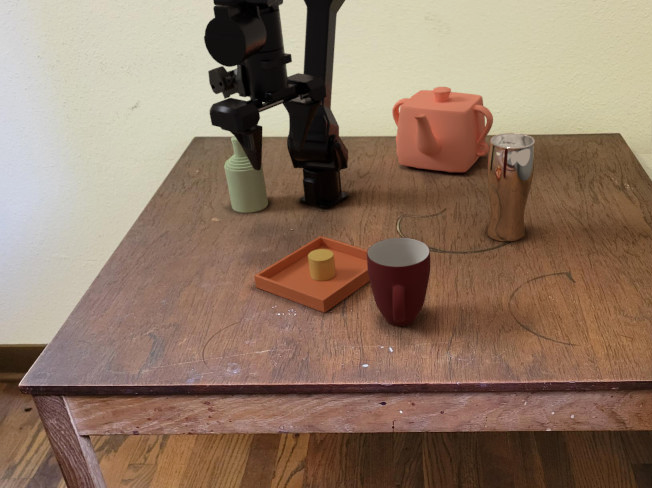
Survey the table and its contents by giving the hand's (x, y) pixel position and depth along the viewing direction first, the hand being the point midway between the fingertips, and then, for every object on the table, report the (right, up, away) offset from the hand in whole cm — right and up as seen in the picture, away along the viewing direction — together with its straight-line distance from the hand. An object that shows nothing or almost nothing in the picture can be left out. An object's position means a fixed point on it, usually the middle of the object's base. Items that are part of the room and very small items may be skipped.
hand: (278, 159), depth 108 cm
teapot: (+25, +9, +30) cm, 40 cm away
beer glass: (+36, -10, +8) cm, 38 cm away
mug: (+19, -26, -12) cm, 35 cm away
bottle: (-8, -2, +19) cm, 21 cm away
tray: (+7, -18, -2) cm, 20 cm away
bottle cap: (+7, -18, -3) cm, 19 cm away
